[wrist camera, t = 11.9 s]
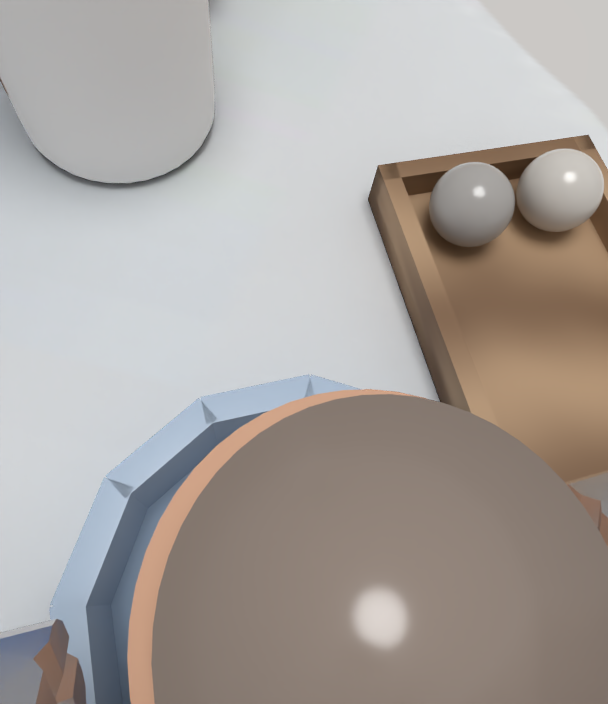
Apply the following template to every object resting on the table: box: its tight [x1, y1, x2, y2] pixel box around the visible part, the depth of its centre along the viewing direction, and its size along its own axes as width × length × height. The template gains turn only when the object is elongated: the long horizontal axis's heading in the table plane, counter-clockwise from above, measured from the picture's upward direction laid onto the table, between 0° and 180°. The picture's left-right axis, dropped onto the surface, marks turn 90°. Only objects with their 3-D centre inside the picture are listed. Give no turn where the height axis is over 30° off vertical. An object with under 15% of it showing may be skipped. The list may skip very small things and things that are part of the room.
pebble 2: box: [516, 149, 604, 232], centre depth 21 cm, size 3×3×3 cm
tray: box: [368, 135, 608, 482], centre depth 21 cm, size 14×9×2 cm, turn 14°
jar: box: [127, 389, 608, 704], centre depth 11 cm, size 5×5×12 cm
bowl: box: [50, 375, 362, 704], centre depth 15 cm, size 12×12×4 cm
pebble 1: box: [429, 162, 515, 247], centre depth 21 cm, size 3×3×3 cm
